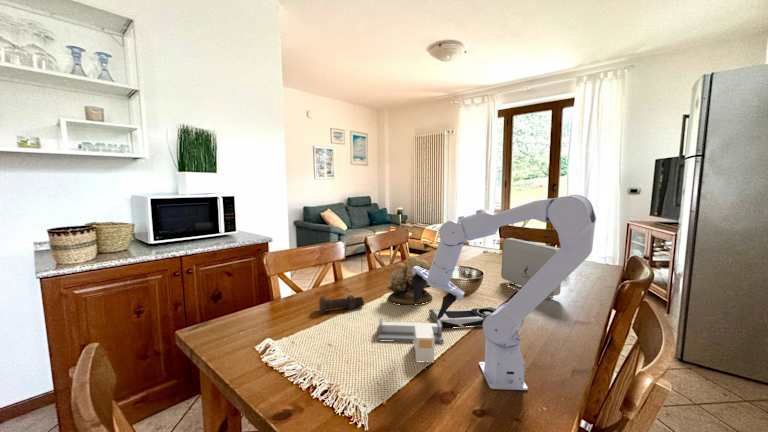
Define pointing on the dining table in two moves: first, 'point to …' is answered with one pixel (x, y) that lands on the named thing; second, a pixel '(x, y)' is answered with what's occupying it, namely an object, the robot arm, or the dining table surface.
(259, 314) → the dining table surface
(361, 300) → the bolt
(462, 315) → the graphics card
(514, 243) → the network device
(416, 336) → the block
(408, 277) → the tan lumpy piece
